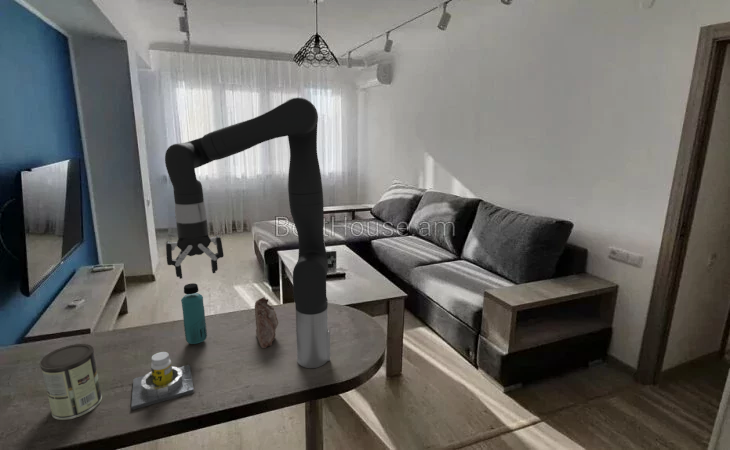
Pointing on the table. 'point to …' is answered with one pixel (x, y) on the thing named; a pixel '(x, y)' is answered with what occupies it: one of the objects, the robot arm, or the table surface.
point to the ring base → (161, 388)
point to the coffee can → (71, 381)
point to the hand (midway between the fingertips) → (197, 275)
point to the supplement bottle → (161, 369)
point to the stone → (265, 322)
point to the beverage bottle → (193, 315)
